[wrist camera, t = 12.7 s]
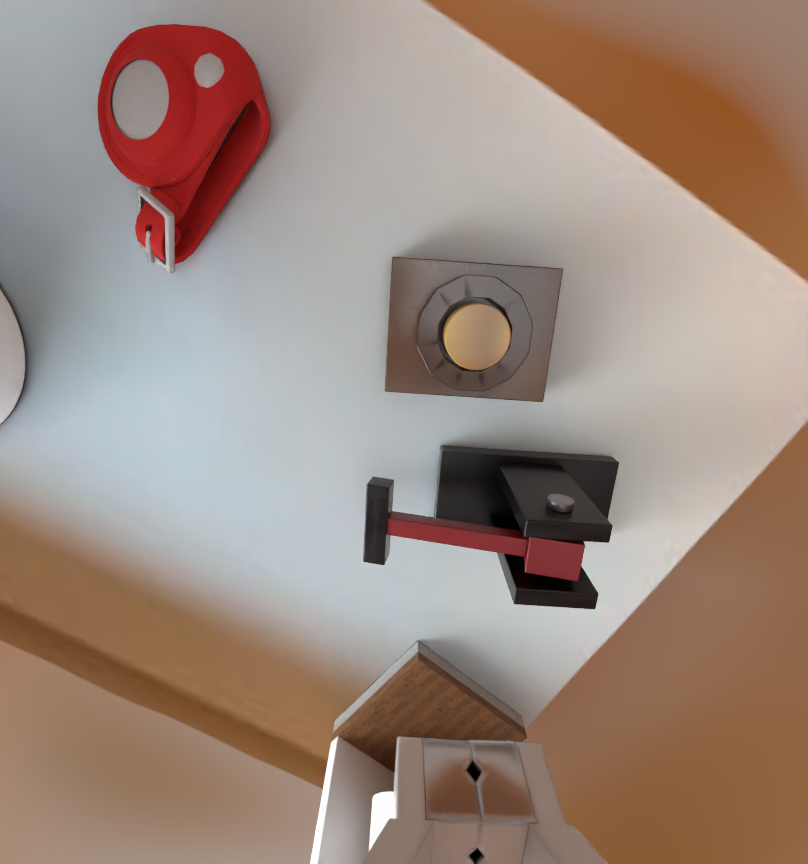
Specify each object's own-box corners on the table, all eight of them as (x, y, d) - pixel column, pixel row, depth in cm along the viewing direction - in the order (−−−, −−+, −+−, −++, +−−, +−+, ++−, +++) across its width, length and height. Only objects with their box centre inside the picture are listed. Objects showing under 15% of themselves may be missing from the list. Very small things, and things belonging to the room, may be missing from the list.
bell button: (439, 363, 28) (441, 368, 27) (445, 300, 27) (447, 300, 26) (501, 367, 29) (506, 372, 27) (508, 304, 27) (515, 305, 26)
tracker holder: (55, 59, 26) (196, -45, 23) (125, 101, 31) (253, 18, 27) (121, 276, 27) (268, 205, 24) (180, 288, 31) (312, 229, 28)
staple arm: (371, 546, 31) (360, 566, 28) (375, 473, 29) (363, 488, 27) (568, 579, 29) (573, 604, 26) (583, 502, 27) (589, 521, 25)
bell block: (386, 384, 33) (383, 397, 29) (393, 258, 30) (391, 254, 26) (534, 394, 33) (551, 409, 29) (552, 269, 30) (573, 267, 27)
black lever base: (433, 523, 35) (442, 608, 26) (440, 445, 34) (452, 506, 24) (596, 533, 36) (664, 622, 26) (612, 456, 34) (689, 521, 24)
